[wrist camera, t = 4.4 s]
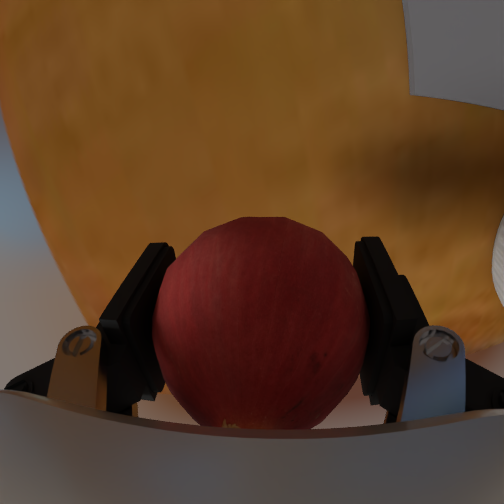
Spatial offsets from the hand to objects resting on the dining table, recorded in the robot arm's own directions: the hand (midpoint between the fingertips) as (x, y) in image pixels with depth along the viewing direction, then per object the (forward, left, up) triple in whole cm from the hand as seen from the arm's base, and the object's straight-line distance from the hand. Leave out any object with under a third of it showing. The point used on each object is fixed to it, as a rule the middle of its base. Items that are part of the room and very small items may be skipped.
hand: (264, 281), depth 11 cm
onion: (0, 0, -2) cm, 2 cm away
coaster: (-10, +12, -9) cm, 18 cm away
